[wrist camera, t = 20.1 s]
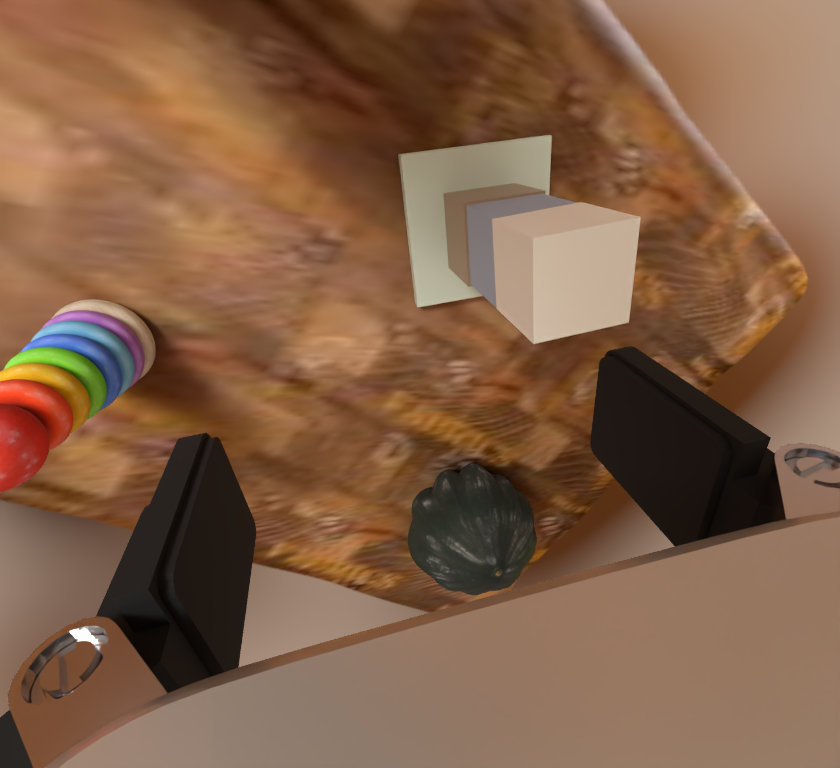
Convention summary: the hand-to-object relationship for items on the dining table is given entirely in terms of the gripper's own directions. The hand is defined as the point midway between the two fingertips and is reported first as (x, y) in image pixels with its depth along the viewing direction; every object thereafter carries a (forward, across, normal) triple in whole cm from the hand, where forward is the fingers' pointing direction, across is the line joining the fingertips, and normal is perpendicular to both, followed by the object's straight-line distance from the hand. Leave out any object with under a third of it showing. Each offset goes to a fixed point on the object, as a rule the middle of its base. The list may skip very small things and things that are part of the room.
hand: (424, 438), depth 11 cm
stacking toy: (+32, +22, +7) cm, 40 cm away
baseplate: (+32, -12, +2) cm, 34 cm away
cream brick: (+19, -12, +2) cm, 22 cm away
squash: (+32, -8, +35) cm, 48 cm away
